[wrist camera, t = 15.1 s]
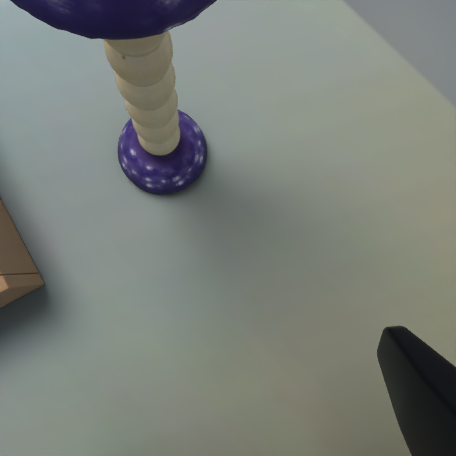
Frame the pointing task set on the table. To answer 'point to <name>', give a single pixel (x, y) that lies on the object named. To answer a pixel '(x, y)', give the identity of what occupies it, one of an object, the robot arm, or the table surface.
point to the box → (14, 263)
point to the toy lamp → (140, 82)
